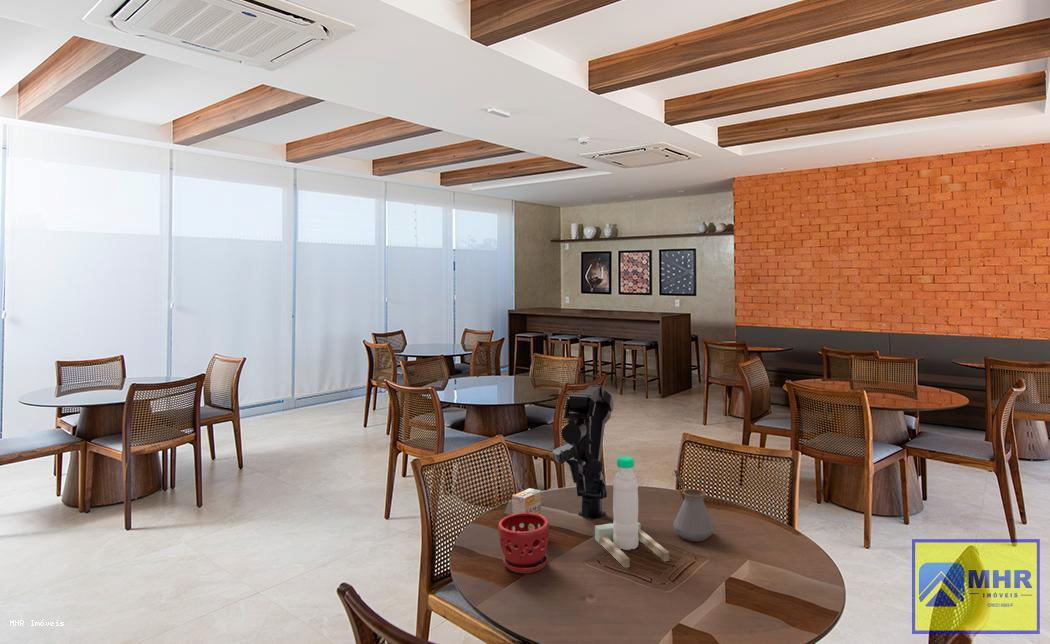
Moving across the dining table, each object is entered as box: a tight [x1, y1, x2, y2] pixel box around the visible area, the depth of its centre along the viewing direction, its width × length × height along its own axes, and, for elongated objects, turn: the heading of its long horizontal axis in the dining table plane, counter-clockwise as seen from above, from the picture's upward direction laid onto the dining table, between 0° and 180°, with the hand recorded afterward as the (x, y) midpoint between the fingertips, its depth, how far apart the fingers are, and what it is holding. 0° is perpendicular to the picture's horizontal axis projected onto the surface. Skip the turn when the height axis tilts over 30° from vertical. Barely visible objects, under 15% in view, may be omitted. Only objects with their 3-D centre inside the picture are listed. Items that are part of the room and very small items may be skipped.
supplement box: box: [511, 487, 542, 532], centre depth 175 cm, size 8×5×13 cm, turn 143°
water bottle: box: [612, 456, 640, 551], centre depth 167 cm, size 7×7×25 cm
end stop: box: [594, 521, 642, 544], centre depth 173 cm, size 3×13×4 cm, turn 107°
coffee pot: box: [671, 469, 715, 542], centre depth 179 cm, size 21×12×15 cm, turn 6°
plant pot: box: [498, 513, 550, 574], centre depth 156 cm, size 13×13×12 cm
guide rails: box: [598, 529, 670, 568], centre depth 164 cm, size 16×13×2 cm
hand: (581, 487), depth 178 cm, fingers open, 9 cm apart
